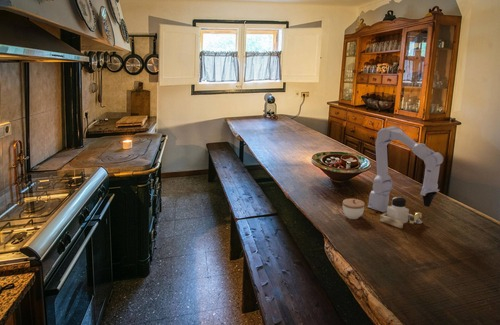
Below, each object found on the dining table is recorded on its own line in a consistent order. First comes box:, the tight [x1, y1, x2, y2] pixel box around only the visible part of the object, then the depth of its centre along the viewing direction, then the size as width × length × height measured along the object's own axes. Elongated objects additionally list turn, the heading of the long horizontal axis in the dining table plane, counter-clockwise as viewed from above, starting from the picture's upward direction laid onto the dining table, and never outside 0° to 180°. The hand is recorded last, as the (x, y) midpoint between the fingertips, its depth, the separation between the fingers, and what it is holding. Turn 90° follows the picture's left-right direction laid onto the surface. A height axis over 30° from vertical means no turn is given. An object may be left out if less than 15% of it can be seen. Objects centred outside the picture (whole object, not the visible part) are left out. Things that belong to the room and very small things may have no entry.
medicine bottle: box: [386, 196, 410, 224], centre depth 169 cm, size 7×7×12 cm
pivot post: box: [413, 218, 423, 225], centre depth 169 cm, size 4×4×2 cm
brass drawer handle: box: [408, 211, 423, 225], centre depth 165 cm, size 12×3×3 cm, turn 138°
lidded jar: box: [342, 198, 365, 220], centre depth 174 cm, size 11×11×9 cm
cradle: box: [379, 211, 415, 229], centre depth 170 cm, size 11×12×3 cm
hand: (426, 205), depth 163 cm, fingers closed
